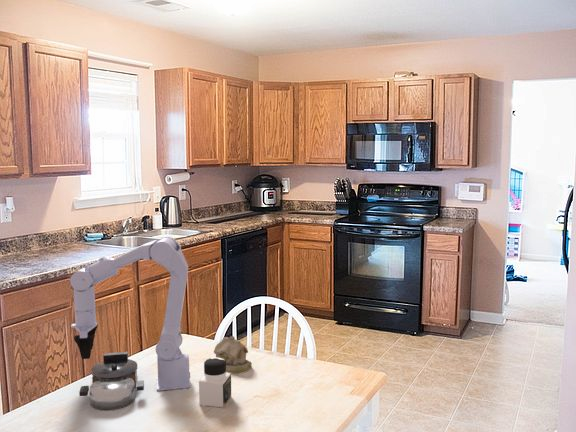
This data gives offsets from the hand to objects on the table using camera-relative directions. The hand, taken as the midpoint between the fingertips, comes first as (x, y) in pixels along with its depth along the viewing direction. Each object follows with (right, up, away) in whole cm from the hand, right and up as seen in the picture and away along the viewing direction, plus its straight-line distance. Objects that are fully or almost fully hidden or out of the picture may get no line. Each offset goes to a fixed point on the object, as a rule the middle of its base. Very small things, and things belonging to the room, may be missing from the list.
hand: (87, 353), depth 164 cm
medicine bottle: (+39, -11, -9) cm, 42 cm away
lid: (+8, -5, 0) cm, 9 cm away
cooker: (+9, -10, -4) cm, 14 cm away
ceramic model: (+41, -8, +16) cm, 45 cm away
